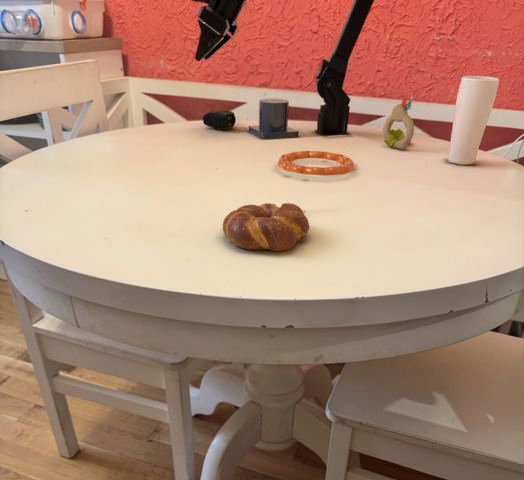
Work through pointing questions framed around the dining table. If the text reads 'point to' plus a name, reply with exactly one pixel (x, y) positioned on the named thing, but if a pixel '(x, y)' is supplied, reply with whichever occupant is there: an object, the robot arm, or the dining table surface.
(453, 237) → the dining table surface
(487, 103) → the drinking glass
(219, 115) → the tape measure
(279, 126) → the cup stand
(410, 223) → the dining table surface
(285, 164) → the ring
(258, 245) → the pretzel
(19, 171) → the dining table surface
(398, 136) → the beige hollow ornament
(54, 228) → the dining table surface
